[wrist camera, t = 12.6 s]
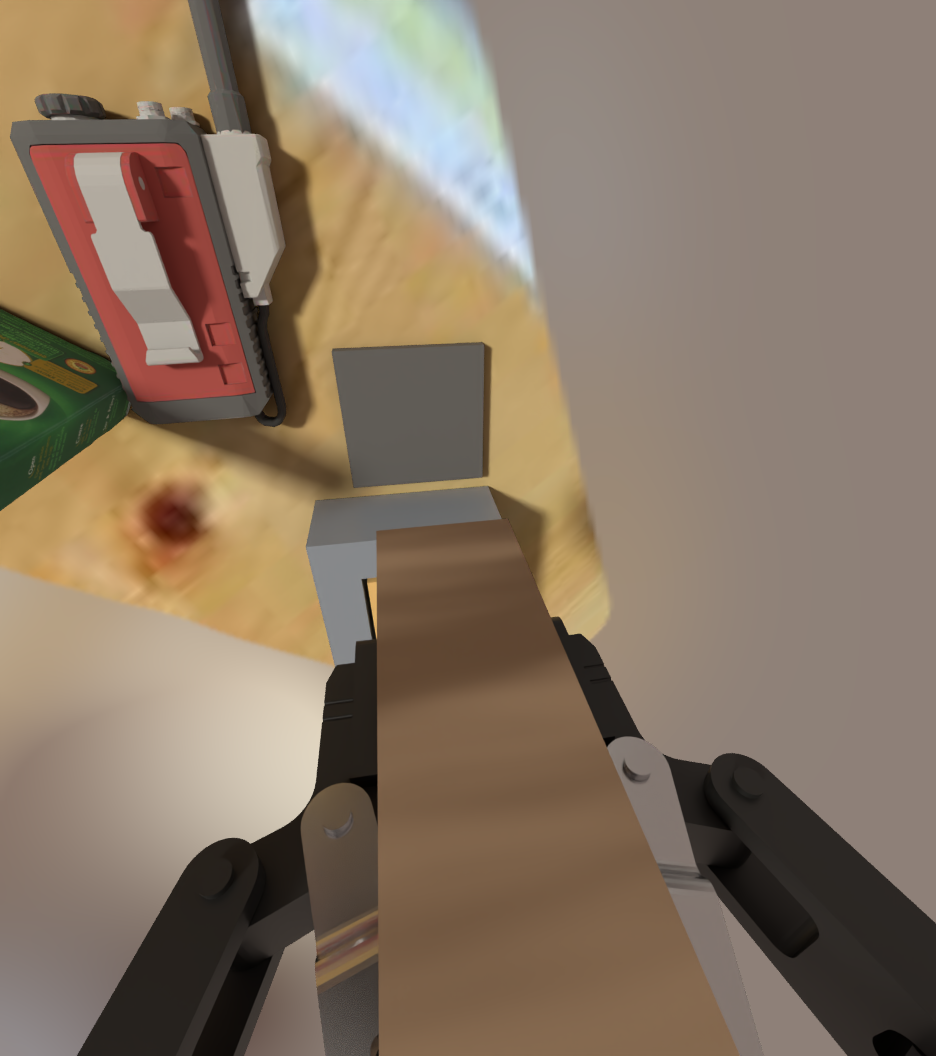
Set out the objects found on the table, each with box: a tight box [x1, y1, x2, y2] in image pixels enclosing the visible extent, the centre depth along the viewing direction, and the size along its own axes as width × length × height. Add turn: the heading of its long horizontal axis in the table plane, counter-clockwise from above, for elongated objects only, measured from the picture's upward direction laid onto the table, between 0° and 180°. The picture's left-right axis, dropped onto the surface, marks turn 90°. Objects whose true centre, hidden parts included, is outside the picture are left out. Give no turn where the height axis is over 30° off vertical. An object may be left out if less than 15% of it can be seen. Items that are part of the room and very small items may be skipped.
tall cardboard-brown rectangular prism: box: [376, 518, 740, 1056], centre depth 10 cm, size 4×4×12 cm
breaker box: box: [306, 486, 501, 667], centre depth 31 cm, size 11×11×5 cm
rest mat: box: [332, 342, 484, 488], centre depth 27 cm, size 8×8×1 cm
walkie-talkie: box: [10, 0, 286, 427], centre depth 19 cm, size 9×4×20 cm
